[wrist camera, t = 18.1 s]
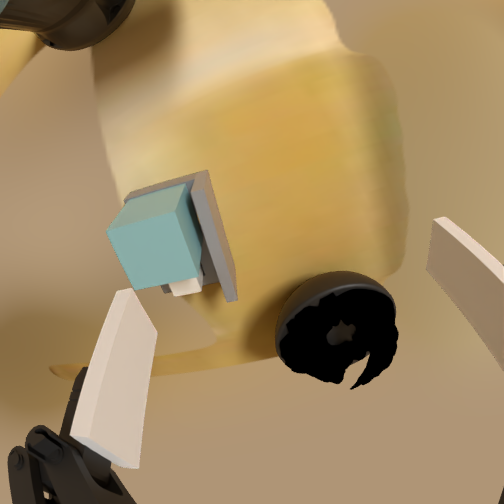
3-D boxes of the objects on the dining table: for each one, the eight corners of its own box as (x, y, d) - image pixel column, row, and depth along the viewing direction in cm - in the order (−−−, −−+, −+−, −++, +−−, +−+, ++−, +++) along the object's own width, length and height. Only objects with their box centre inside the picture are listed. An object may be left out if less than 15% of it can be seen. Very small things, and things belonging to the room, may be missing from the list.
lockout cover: (128, 199, 35) (105, 231, 27) (185, 183, 35) (174, 211, 27) (149, 250, 39) (134, 290, 31) (202, 237, 39) (198, 276, 31)
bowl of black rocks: (383, 300, 53) (425, 372, 37) (297, 346, 57) (317, 425, 41) (352, 224, 43) (413, 302, 27) (244, 285, 48) (256, 382, 32)
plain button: (169, 254, 41) (163, 273, 37) (195, 248, 41) (192, 267, 36) (178, 276, 43) (174, 296, 39) (203, 271, 43) (201, 291, 39)
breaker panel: (130, 192, 37) (111, 215, 31) (207, 169, 37) (204, 188, 30) (167, 281, 46) (159, 315, 39) (235, 267, 45) (237, 300, 39)
